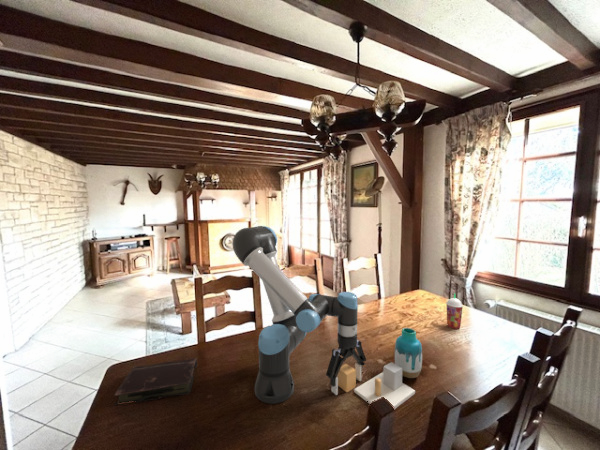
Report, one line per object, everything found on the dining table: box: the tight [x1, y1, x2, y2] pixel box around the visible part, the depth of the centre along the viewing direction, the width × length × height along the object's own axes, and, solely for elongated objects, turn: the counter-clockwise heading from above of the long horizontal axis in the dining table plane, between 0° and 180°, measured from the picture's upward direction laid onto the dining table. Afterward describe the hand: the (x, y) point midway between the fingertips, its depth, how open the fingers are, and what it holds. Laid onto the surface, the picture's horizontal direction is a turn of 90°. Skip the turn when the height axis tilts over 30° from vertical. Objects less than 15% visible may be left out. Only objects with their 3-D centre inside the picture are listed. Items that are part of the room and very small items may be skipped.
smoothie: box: [446, 293, 464, 330], centre depth 151 cm, size 8×8×20 cm
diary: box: [114, 357, 198, 406], centre depth 103 cm, size 19×25×5 cm
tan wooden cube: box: [337, 363, 357, 393], centre depth 101 cm, size 5×5×7 cm
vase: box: [394, 327, 423, 379], centre depth 108 cm, size 11×11×19 cm
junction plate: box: [353, 361, 416, 409], centre depth 98 cm, size 18×14×8 cm
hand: (346, 385), depth 102 cm, fingers open, 12 cm apart
